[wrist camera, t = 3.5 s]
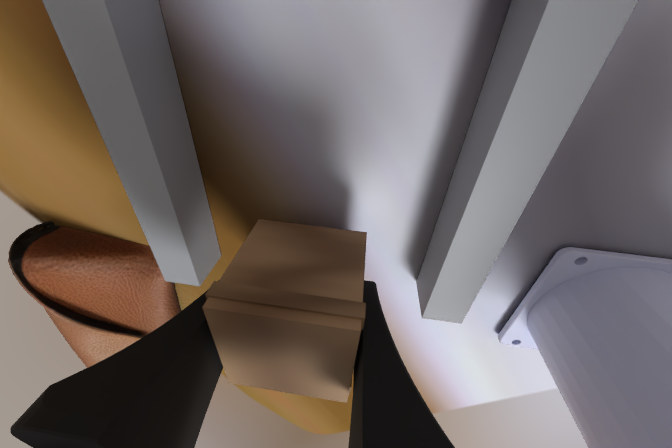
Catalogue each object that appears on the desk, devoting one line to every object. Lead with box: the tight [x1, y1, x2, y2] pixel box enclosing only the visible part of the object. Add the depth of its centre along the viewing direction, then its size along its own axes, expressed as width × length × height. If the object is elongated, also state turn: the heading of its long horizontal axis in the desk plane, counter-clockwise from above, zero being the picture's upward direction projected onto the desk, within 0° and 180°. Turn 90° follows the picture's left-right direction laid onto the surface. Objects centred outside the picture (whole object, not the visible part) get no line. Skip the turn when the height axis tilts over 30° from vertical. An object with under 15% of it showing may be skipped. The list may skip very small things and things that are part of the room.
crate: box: [202, 219, 367, 403], centre depth 12 cm, size 5×5×5 cm
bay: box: [42, 0, 638, 323], centre depth 11 cm, size 16×16×3 cm
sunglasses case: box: [8, 221, 181, 368], centre depth 21 cm, size 18×7×7 cm, turn 172°
